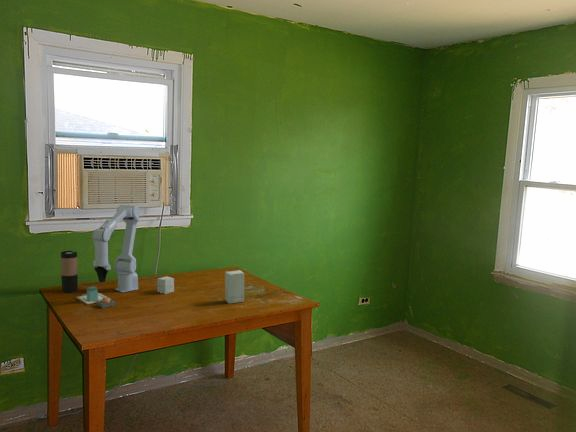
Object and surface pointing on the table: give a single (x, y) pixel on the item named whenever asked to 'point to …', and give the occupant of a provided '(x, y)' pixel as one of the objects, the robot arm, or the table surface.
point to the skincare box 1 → (165, 285)
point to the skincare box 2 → (234, 286)
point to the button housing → (103, 305)
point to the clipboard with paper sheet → (87, 302)
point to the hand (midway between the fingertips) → (102, 281)
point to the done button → (105, 300)
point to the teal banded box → (92, 293)
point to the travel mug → (69, 271)
